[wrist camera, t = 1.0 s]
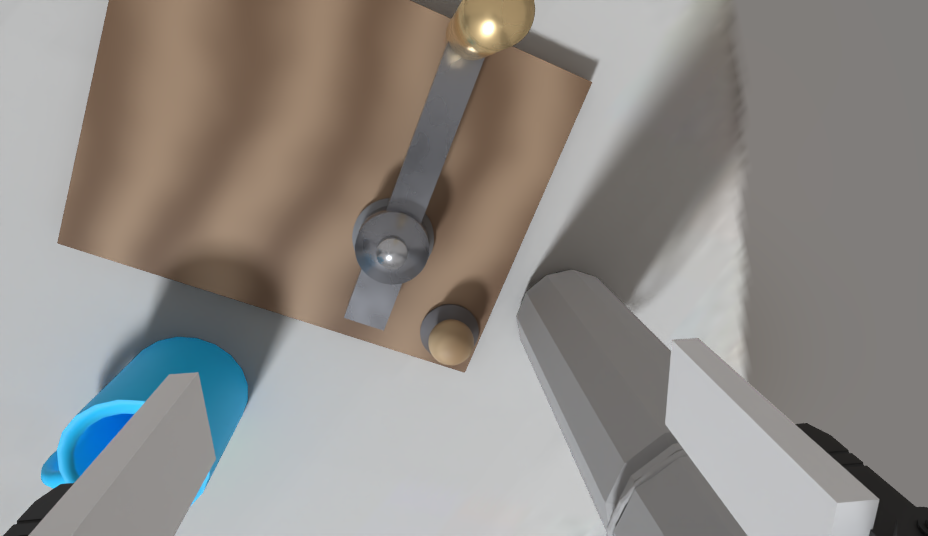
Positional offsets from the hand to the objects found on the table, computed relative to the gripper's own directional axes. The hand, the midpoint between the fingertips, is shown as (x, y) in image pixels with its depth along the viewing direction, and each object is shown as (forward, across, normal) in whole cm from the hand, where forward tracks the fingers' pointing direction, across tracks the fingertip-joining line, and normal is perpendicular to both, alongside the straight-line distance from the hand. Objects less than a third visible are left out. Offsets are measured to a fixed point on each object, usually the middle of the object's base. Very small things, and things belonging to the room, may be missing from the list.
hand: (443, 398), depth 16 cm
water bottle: (+23, +10, -8) cm, 26 cm away
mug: (+23, -19, -12) cm, 32 cm away
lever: (+21, -1, +3) cm, 21 cm away
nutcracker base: (+23, -6, +4) cm, 24 cm away
